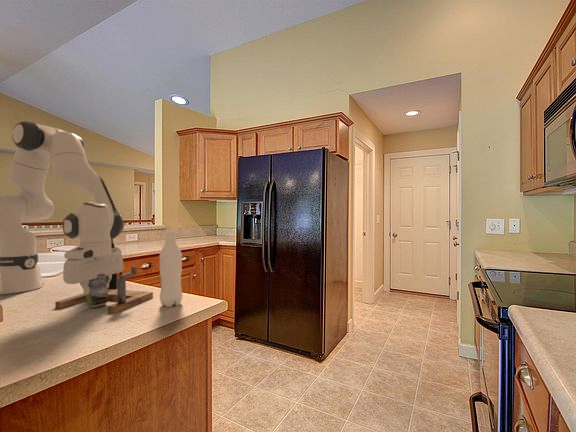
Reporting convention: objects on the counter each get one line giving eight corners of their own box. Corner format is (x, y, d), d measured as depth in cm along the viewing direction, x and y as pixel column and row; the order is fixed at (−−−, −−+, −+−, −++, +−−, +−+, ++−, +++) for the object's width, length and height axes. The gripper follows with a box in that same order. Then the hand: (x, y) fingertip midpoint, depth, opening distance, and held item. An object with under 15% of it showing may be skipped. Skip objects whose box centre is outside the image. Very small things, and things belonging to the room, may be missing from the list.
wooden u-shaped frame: (55, 307, 96) (55, 301, 96) (99, 293, 113) (99, 288, 113) (115, 313, 91) (115, 306, 90) (152, 297, 107) (152, 292, 107)
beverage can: (98, 309, 94) (97, 272, 94) (79, 308, 95) (78, 272, 95) (113, 303, 100) (112, 269, 100) (95, 302, 101) (94, 268, 101)
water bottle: (155, 306, 97) (154, 232, 97) (172, 300, 103) (171, 230, 103) (169, 309, 94) (169, 232, 93) (187, 303, 100) (186, 231, 100)
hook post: (115, 309, 94) (115, 270, 94) (132, 302, 101) (132, 266, 101) (122, 310, 93) (121, 270, 93) (138, 303, 101) (138, 266, 100)
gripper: (113, 246, 108) (114, 283, 108) (58, 254, 88) (59, 299, 89) (127, 246, 107) (128, 283, 107) (75, 254, 87) (76, 300, 87)
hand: (96, 290), depth 98 cm, fingers closed on beverage can, 5 cm apart
